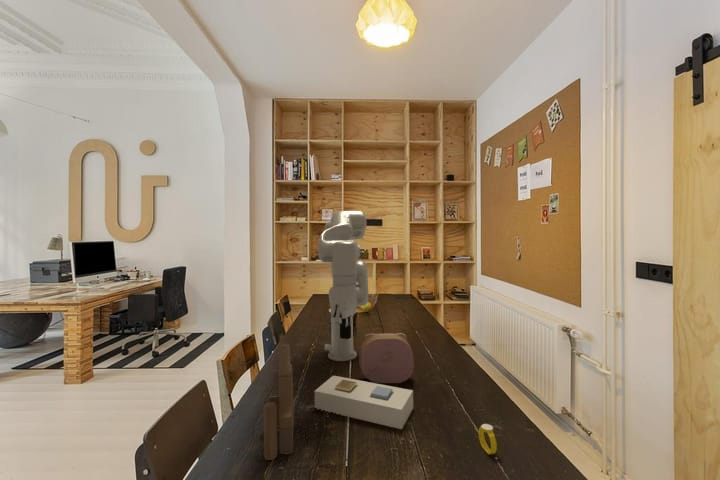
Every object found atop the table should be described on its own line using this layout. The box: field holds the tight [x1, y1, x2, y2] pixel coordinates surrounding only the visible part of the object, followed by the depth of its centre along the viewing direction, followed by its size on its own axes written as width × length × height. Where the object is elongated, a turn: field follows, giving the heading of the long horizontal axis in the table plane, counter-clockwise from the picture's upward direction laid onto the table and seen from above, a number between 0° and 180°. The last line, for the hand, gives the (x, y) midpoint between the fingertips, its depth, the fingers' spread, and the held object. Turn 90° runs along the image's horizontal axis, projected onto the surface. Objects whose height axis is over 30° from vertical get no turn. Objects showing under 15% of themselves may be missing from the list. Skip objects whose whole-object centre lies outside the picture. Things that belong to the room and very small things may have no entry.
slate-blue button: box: [371, 386, 392, 401], centre depth 99 cm, size 5×5×3 cm
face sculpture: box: [358, 332, 414, 384], centre depth 120 cm, size 20×7×17 cm, turn 92°
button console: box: [314, 375, 414, 430], centre depth 101 cm, size 28×12×6 cm, turn 66°
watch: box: [478, 423, 498, 455], centre depth 81 cm, size 6×3×6 cm, turn 10°
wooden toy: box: [262, 344, 295, 461], centre depth 86 cm, size 16×7×25 cm, turn 10°
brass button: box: [336, 380, 357, 393], centre depth 104 cm, size 5×5×3 cm
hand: (345, 337), depth 104 cm, fingers closed
